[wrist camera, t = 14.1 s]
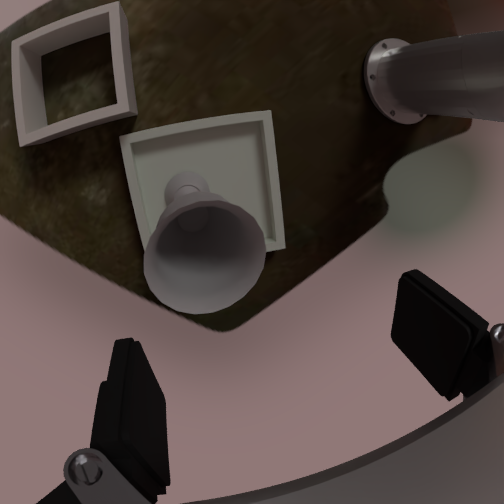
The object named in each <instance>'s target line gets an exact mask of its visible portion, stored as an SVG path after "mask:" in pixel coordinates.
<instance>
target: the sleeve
mask: <svg viewBox="0 0 504 504" xmlns="http://www.w3.org/2000/svg"><path fill="white" fill-rule="evenodd" d="M108 32H110V36H111V49H112V60H113V70H114V79H115V88H116V96H117V103H118V104H114V105H111V106H107V107H104V108H100V109H97V110H93V111H90V112H87V113H84V114H80V115H77V116H74V117H71V118H68V119H65V120H62V121H60V122H57V123H54V124H51V125H49V126H47V118H46V111H45V102H44V93H43V81H42V66H41V56H42V55H45V54H47V53H49V52H52V51H54V50H57V49H60V48H62V47H65V46H68V45H70V44H73V43H76V42H79V41H82V40H85V39H88V38H91V37H94V36H98V35H101V34H104V33H108ZM12 82H13V97H14V107H15V116H16V124H17V132H18V138H19V145H20V147H24V146H29V145H35V144H42V143H45V142H48V141H51V140H53V139H56V138H59V137H62V136H65V135H68V134H71V133H74V132H77V131H80V130H83V129H87V128H90V127H93V126H97V125H100V124H104V123H107V122H111V121H115V120H118V119H122V118H126V117H130V116H134V115H138V112H137V105H136V98H135V90H134V82H133V74H132V65H131V56H130V45H129V34H128V20H127V18H126V16H125V14H124V11H123V9H122V7H121V5H120V3H119V1H117V2H113V3H110V4H106V5H103V6H99V7H96V8H93V9H90V10H86V11H83V12H80V13H77V14H75V15H72V16H69V17H66V18H64V19H61V20H58V21H56V22H53V23H51V24H49V25H46V26H44V27H41V28H39V29H37V30H35V31H33V32H30V33H28V34H26V35H24V36H22V37H20V38H18V39H16V40H14V41H12Z"/></svg>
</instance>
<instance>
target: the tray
mask: <svg viewBox="0 0 504 504" xmlns="http://www.w3.org/2000/svg"><path fill="white" fill-rule="evenodd" d="M119 138H120V144H121V150H122V155H123V160H124V166H125V171H126V176H127V180H128V185H129V190H130V194H131V199H132V203H133V208H134V212H135V216H136V220H137V224H138V228H139V232H140V236H141V240H142V244H143V248H144V251H145V250H146V247H147V244H148V241H149V238H150V236H151V235H152V234H153V232H154V231H155V229H156V226H157V223H158V221H159V218H160V216H161V214H162V213H163V212H164V210H165V209H166V208H167V204H166V201H165V188H166V185H167V183H168V182H169V181H170V179H171V178H172V177H174V176H175V175H177V174H179V173H182V172H194V173H197V174H199V175H200V176H202V177H203V178H204V179H205V180H206V182H207V183H208V186H209V190H210V192H211V193H214V194H218V195H220V196H222V197H223V198H224V199H226V200H227V201H228V202H230V203H231V204H234V205H237V206H240V207H241V208H242V209H244V210H245V211H246V212H248V213H249V214H250V215H252V216H253V217H254V218H255V220H256V221H257V223H258V225H259V226H260V228H261V230H262V231H263V233H264V239H265V245H266V252H269V251H274V250H278V249H283V248H285V237H284V226H283V216H282V206H281V196H280V186H279V176H278V167H277V158H276V149H275V140H274V132H273V124H272V115H271V110H268V111H258V112H249V113H240V114H232V115H225V116H218V117H211V118H205V119H199V120H193V121H187V122H182V123H177V124H171V125H166V126H162V127H157V128H152V129H148V130H143V131H139V132H135V133H131V134H127V135H123V136H119Z"/></svg>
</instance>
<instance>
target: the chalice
mask: <svg viewBox="0 0 504 504" xmlns="http://www.w3.org/2000/svg"><path fill="white" fill-rule="evenodd" d="M165 201H166V204H167V208H166V209H165V210H164V212H163V213H162V214H161V216H160V218H159V221H158V223H157V226H156V229H155V231H154V232H153V234H152V235H151V236H150V238H149V241H148V244H147V247H146V250H145V253H144V275H145V277H146V280H147V283H148V285H149V288H150V290H151V291H152V292H153V293H154V294H155V296H156V297H157V298H158V299H159V300H160V301H161V302H162V303H164V304H165V305H167V306H169V307H171V308H173V309H174V310H176V311H180V312H185V313H191V314H202V313H212V312H215V311H218V310H221V309H223V308H226V307H229V306H230V305H232V304H233V303H235V302H236V301H238V300H239V299H241V298H242V297H244V296H245V295H246V294H247V292H248V291H249V290H250V289H251V288H252V287H253V286H254V285H255V283H256V282H257V280H258V278H259V276H260V274H261V272H262V270H263V268H264V262H265V256H266V245H265V239H264V233H263V231H262V230H261V228H260V226H259V225H258V223H257V221H256V220H255V218H254V217H253V216H252V215H250V214H249V213H248V212H246V211H245V210H244V209H242V208H241V207H240V206H237V205H234V204H231V203H230V202H228V201H227V200H226V199H224V198H223V197H222V196H220V195H218V194H214V193H211V192H210V190H209V186H208V183H207V182H206V180H205V179H204V178H203V177H202V176H200V175H199V174H197V173H194V172H182V173H179V174H177V175H175V176H174V177H172V178H171V179H170V181H169V182H168V183H167V185H166V188H165Z"/></svg>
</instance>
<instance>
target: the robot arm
mask: <svg viewBox="0 0 504 504" xmlns="http://www.w3.org/2000/svg"><path fill="white" fill-rule="evenodd" d="M364 81H365V85H366V89H367V91H368V94H369V96H370V98H371V100H372V102H373V103H374V105H375V106H376V108H377V109H378V110H379V111H380V112H381V113H382V114H383V115H384V116H385V117H387V118H388V119H390V120H391V121H394V122H396V123H401V124H414V123H417V122H419V121H421V120H422V119H423V118H424V117H425V116H426V115H427V114H430V115H444V116H456V117H466V118H475V119H483V120H491V121H498V122H504V30H503V31H495V32H487V33H477V34H471V35H462V36H455V37H448V38H442V39H437V40H431V41H426V42H421V43H416V44H412V45H411V44H409V43H407V42H405V41H403V40H400V39H393V38H391V39H385V40H382V41H379V42H377V43H376V44H374V45H373V46H372V47H371V49H370V50H369V51H368V53H367V55H366V58H365V62H364ZM488 325H489V323H488V322H487V321H486V320H484V319H483V318H482V317H481V316H479V315H478V314H477V313H476V312H474V311H473V310H472V309H470V308H469V307H468V306H467V305H465V304H464V303H463V302H461V301H460V300H459V299H457V298H456V297H455V296H453V295H452V294H451V293H449V292H448V291H447V290H445V289H444V288H443V287H441V286H440V285H439V284H437V283H436V282H434V281H433V280H432V279H430V278H429V277H428V276H426V275H425V274H423V273H422V272H420V271H419V270H417V269H414V270H411V271H408V272H405V273H403V274H402V276H401V278H400V279H399V282H398V290H397V298H396V305H395V311H394V318H393V324H392V330H391V338H392V341H393V342H394V343H395V344H396V345H397V346H398V348H399V349H400V350H401V351H402V352H403V353H404V354H405V356H406V357H407V358H408V359H409V360H410V361H411V362H412V363H413V365H414V366H415V367H416V368H417V369H418V370H419V371H420V372H421V373H422V375H423V376H424V377H425V378H426V379H427V380H428V382H429V383H430V384H431V385H432V386H433V387H434V388H435V390H436V391H437V392H438V393H439V394H440V395H441V396H445V397H446V399H447V400H448V401H451V400H452V399H454V398H455V397H457V396H458V395H459V394H460V392H461V393H462V394H463V402H461V403H460V404H458V405H457V406H455V407H454V408H452V409H450V410H449V411H447V412H446V413H444V414H443V415H441V416H439V417H437V418H436V419H434V420H432V421H430V422H429V423H427V424H426V425H424V426H422V427H420V428H418V429H416V430H414V431H412V432H411V433H409V434H407V435H405V436H403V437H401V438H399V439H397V440H395V441H393V442H391V443H389V444H387V445H385V446H383V447H381V448H378V449H376V450H374V451H372V452H370V453H367V454H365V455H362V456H360V457H358V458H355V459H353V460H350V461H348V462H345V463H343V464H340V465H338V466H335V467H332V468H329V469H327V470H324V471H321V472H318V473H315V474H312V475H309V476H306V477H303V478H299V479H296V480H293V481H290V482H286V483H282V484H279V485H275V486H271V487H267V488H263V489H259V490H254V491H250V492H245V493H241V494H236V495H231V496H226V497H221V498H215V499H209V500H202V501H195V502H189V503H183V504H504V324H496V325H494V326H493V327H492V328H491V330H490V332H488V331H487V328H488ZM63 471H64V477H65V479H66V480H65V481H64V482H63V483H61V484H60V485H59V486H58V487H57V488H56V489H54V490H53V491H52V492H50V493H49V494H48V495H46V496H45V497H44V498H43V499H41V500H40V501H39V502H38V503H36V504H155V503H156V502H157V501H158V500H157V495H163V494H166V486H170V471H169V458H168V443H167V424H166V402H165V397H164V394H163V392H162V390H161V388H160V386H159V384H158V382H157V379H156V377H155V375H154V373H153V371H152V369H151V366H150V364H149V362H148V360H147V357H146V355H145V353H144V351H143V348H142V346H141V344H140V342H139V341H134V339H133V338H125V339H119V340H116V341H115V343H114V347H113V352H112V357H111V361H110V366H109V371H108V377H107V381H103V382H102V383H101V384H100V388H99V393H98V398H97V404H96V409H95V415H94V422H93V428H92V435H91V442H90V448H84V449H79V450H77V451H76V452H74V453H72V454H71V455H70V456H69V458H68V459H67V461H66V462H65V465H64V470H63Z"/></svg>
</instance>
